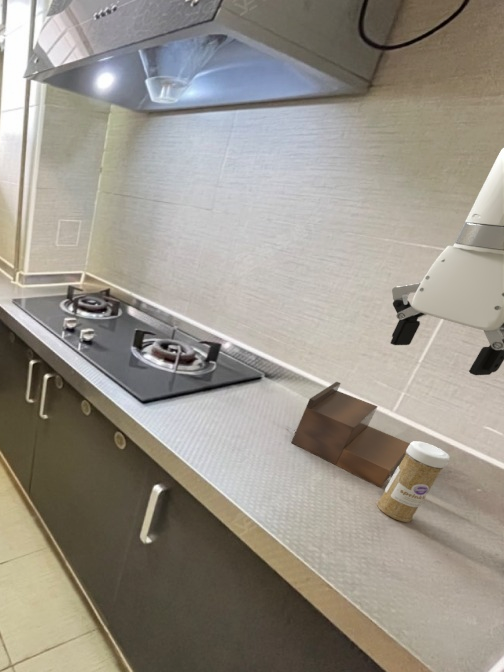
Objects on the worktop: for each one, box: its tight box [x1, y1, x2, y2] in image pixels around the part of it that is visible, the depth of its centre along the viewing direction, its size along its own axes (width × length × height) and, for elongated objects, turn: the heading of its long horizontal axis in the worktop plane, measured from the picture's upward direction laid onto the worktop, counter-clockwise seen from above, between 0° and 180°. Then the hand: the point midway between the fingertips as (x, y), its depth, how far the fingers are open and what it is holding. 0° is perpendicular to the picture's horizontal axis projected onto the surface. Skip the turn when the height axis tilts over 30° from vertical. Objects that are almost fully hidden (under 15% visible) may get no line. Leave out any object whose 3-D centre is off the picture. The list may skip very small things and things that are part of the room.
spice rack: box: [290, 381, 411, 489], centre depth 81 cm, size 15×16×11 cm
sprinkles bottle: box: [376, 440, 451, 523], centre depth 65 cm, size 5×5×14 cm
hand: (436, 358), depth 57 cm, fingers open, 9 cm apart
